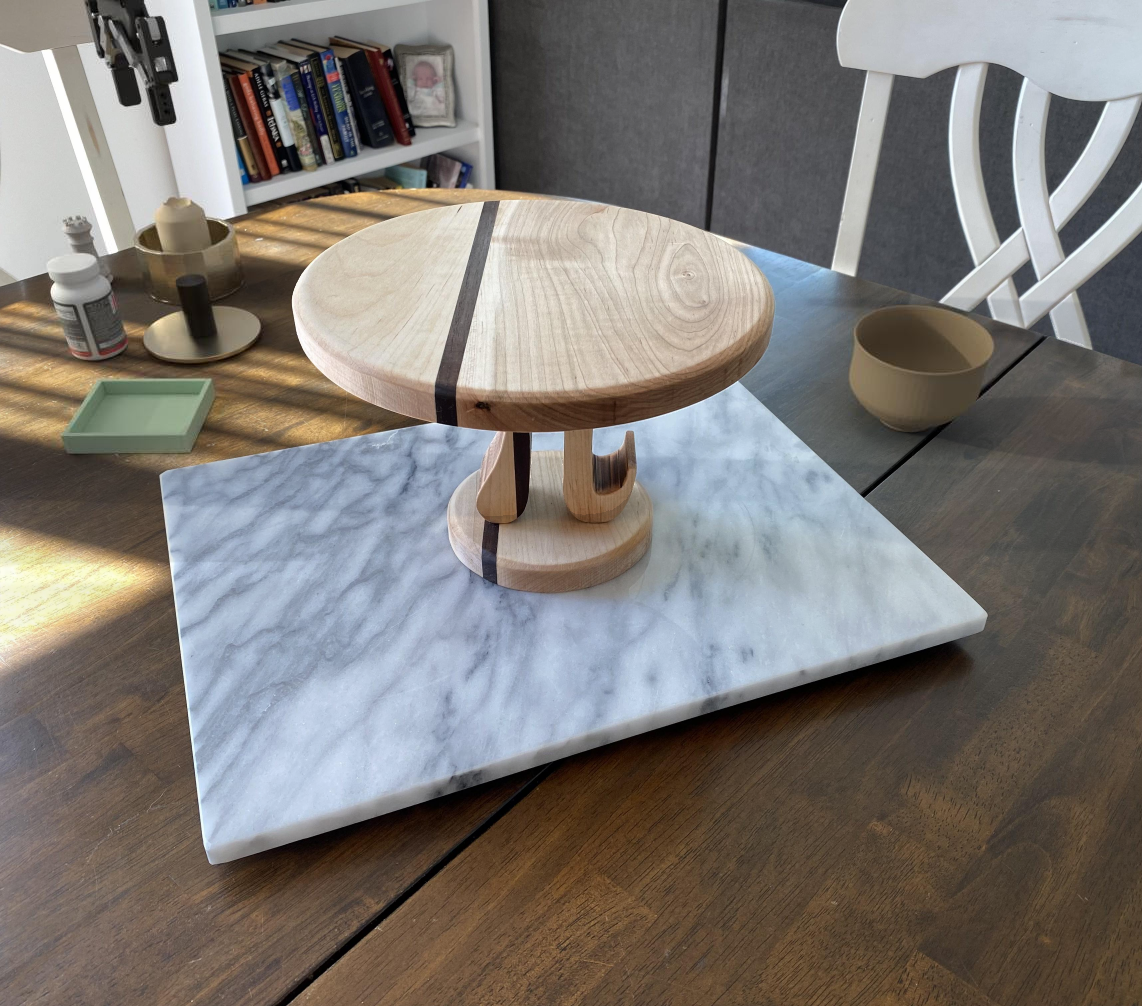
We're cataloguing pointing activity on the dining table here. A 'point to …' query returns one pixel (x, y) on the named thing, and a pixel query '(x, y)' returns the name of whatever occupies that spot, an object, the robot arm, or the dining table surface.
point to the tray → (140, 416)
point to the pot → (190, 263)
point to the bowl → (918, 365)
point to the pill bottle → (86, 307)
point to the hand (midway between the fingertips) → (148, 114)
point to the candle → (182, 226)
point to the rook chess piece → (84, 241)
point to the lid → (200, 327)
